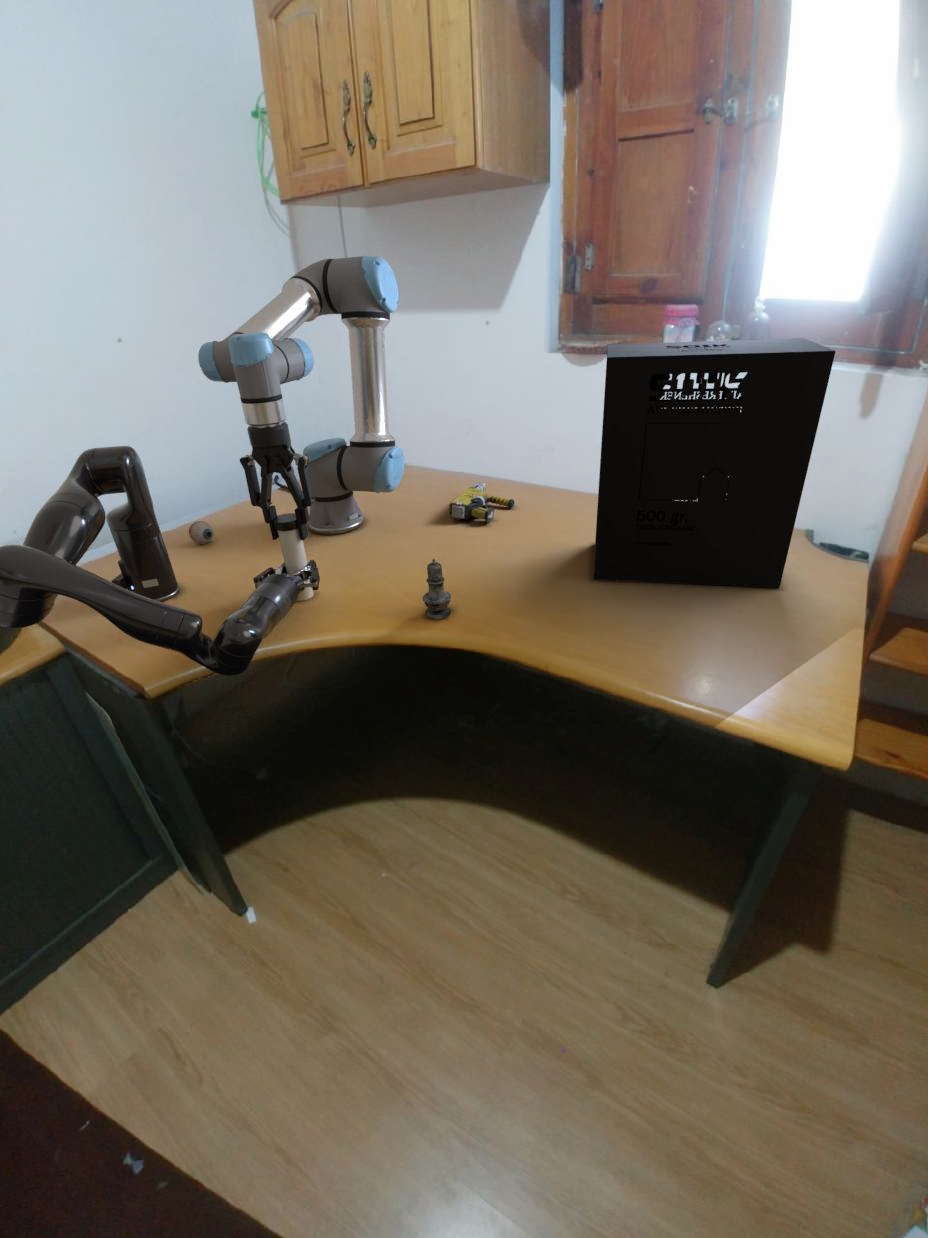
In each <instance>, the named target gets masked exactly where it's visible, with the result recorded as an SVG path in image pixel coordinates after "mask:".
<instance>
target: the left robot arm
mask: <svg viewBox="0 0 928 1238" xmlns="http://www.w3.org/2000/svg"><path fill="white" fill-rule="evenodd" d="M143 465H144V464H143V462H142V460H141V457H140V456H139V453H138V452H137V451H136V450H135V448H133V447H132V446H130V445H114V446H102V447H92V448H89V449H88V448H87V449H86V450H84V451H83V452H81V454H79V456H78V457H77V459H76V460H75V462H74V464H73V465H72V467H71V470H70V471H69V473H68V475H67V476H66V478H65V480H64V481H63V482H62V484H61V485H60V486H59V487H58V489H57V490H56V491H55V493H53V495H51V496H50V497H49V498H48V500H46V502H45V503H44V504H43V505H42V507H41V508H40V509H39V510H38V512H37V513H36V515H35V516H34V518H33V520H32V521H31V524H30V527H29V528H28V531H27V533H26V536H25V537H24V540H23V542H22V544H5V545H2V546H0V627H4V628H8V629H21V628H22V629H23V628H28V627H31V626H34V625H36V624H38V623H40V622H42V621H43V620H44V619H46V618H47V617H48V616H49V615H50V613H52V610H53V609H54V606H55V602H56V599H57V598H58V595H59V596H63V597H66V598H70V599H73V600H75V601H77V602H80V603H82V604H84V605H85V606H87V607H89V608H91V609H92V610H94V611H95V612H97V613H98V614H99V615H101V616H102V617H103V618H105V619H106V620H108V621H109V622H110V623H111V624H112V625H113V626H114V627H115V628H117V629H118V630H120V632H123V633H124V634H125V635H127V636H129V637H131V638H132V639H134V640H136V641H138V642H140V643H144V644H147V645H150V646H153V647H154V646H155V647H158V648H161V649H164V650H169V651H171V652H176V653H179V654H181V655H183V656H184V657H186V658H188V659H190V660H191V661H193V662H195V663H196V664H199V665H200V666H202V667H204V669H207V670H209V671H211V672H213V673H215V674H218V675H220V676H221V675H222V676H229V677H230V676H238V675H240V674H242V673H244V672H246V670H248V668H249V667H250V664H251V662H252V660H253V659H254V656H255V655H256V653H257V651H258V649H259V647H260V646H261V644H262V642H263V640H265V639H266V638H267V637H268V636H269V635H271V633H272V632H273V631H274V630H275V629H276V627H277V625H278V624H279V623H280V622H281V621H282V620H283V619H284V618H285V617H286V616H287V615H288V613H289V611H290V610H291V609H292V607H294V605H295V604H296V602H297V598H298V595H299V593H300V592H301V591H303V590H304V589H305V588H307V587H311V588H312V589H313V591H318V590H319V587H320V581H321V577H320V573H319V567H317V562H316V561H315V559H310V560H309V561H307V563H308V564H307V565H306V566H305V568H303V569H298V570H296V571H295V572H293V573H292V574H291V573H290V574H287V572H286V567H285V563H284V562H283V563H281V564H280V565H278V566H277V567H276V568H274V567H272V566H271V567H268V568H266V569H264V570H263V571H261V572H260V573H259V574H257V575H256V576H254V577H252V581H253V584H254V590H253V591H252V592H251V593H250V594H249V596H248V598H247V600H246V601H245V602H244V603H243V604H242V605H241V607H240V608H239V609H237V610H236V611H234V612H233V613H231V614H229V615H228V616H227V617H226V618H225V619H224V621H223V622H222V623H221V625H220V627H219V628H218V629H217V632H216V634H215V637H214V638H212V637H210V636H208V635H207V634H206V633H204V632H203V626H204V625H203V624H204V623H203V618H202V616H201V615H200V614H198V613H196V612H194V611H190V610H188V609H184V608H181V607H179V606H175V605H171V604H169V603H165V602H163V601H167V600H170V599H172V598H173V597H175V596H176V595H178V593H180V590H181V589H180V585H179V583H178V580H177V577H176V574H175V571H174V568H173V565H172V561H171V558H170V556H169V553H168V549H167V547H166V544H165V540H164V537H163V535H162V531H161V528H160V525H159V523H158V519H157V516H156V513H155V508H154V503H153V499H152V495H151V492H150V487H149V485H148V480H147V476H146V473H145V469H144V466H143ZM124 493H125V494H126V500H127V501H126V502H125V503H123V504H121V505H118V506H117V507H115V508H112V509H111V510H110V511H108V513H107V514H106V510H105V508H104V506H103V504H102V502H101V501H100V499H99V497H101V496H105V495H113V494H124ZM106 523H107V526H108V528H109V531H110V534H111V537H112V539H113V542H114V544H115V547H116V550H117V553H118V556H119V558H120V559H118V561H117V565H118V568H119V570H120V573H119V574H118V575H117V576H115V577H114V578H113V579H111V580H108V579H106V578H104V577H102V576H100V575H98V574H96V573H94V572H91V571H89V570H87V569H85V568H83V567H80V566H78V565H77V564H78V563H79V562H80V560H81V559H82V558H83V556H84V555H85V554H86V553H87V551H88V550H89V549H90V547H91V546H92V545H93V543H94V542H95V541H96V539H97V537H98V536H99V535H100V533H101V532H102V530H103V528H104V525H105V524H106ZM305 574H306V575H305Z"/></svg>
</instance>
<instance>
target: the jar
mask: <svg viewBox="0 0 928 1238" xmlns="http://www.w3.org/2000/svg"><path fill="white" fill-rule="evenodd" d="M277 531H278V530H277ZM278 536H279V538H278V539H279V544H280V549H281V553H282V556H283V557H282V558H283V563H285V567H286V572H287V574H290V573H291V574H292V573H293V572H295V571H296V570H298V569H303V568H305V566H306V565H307V564H308V558H307V553H306V548H305V543H304V540H300V535H299V530H298V528H297V529H294V530H290V531H278ZM305 575H306V574H305ZM314 594H315V592H314V590H313V589H312V588H311V587H307V588H305V589H304V590H303V591H301V592H300V593H299V595H298V598H297V600H296V602H301V601H308V600H310V599H311V598H313V596H314Z"/></svg>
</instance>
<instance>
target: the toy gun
mask: <svg viewBox="0 0 928 1238" xmlns="http://www.w3.org/2000/svg"><path fill="white" fill-rule="evenodd" d="M486 491H487V484H486V483H485V482H480V481H477V482H475V483H474V484H473V485H472V486H469V487H468V488H467V489H466V490H465V491H463V492H462V493H461V494H459V496H457V497H456V498H455V499H453V500H452V501H451V502H450V503H449V505H448V506H449V507H448V516H450V518H453V519H454V520H456V519H457V520H459V521H460V520H461V519H462V520H469V519H473V518H478V519H482V520H484V523H489V522H490V521H492V520H494V516H495V515H494V514H495V507H492V506H491V507H489V508H488V506H487V505H488V504H490V503H491V504H495V505H498V506H503V507H506V508H509V509H512V508H514V506H515V500H514V499H513V498H507V497H503V496H499V495H495V494H492V495H491V496H490V497H489V495H488V493H487V492H486Z"/></svg>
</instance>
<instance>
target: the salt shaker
mask: <svg viewBox="0 0 928 1238" xmlns="http://www.w3.org/2000/svg"><path fill="white" fill-rule="evenodd" d="M426 570H427V578H426V583H427V585H428V591H427V592H426V593H424V594H423V595H422V601H423V603H424V605H425V607H426V608H427V609H426V610H425V613H424V614H425V616H426V617H427V618H429V619H434V620H440V619H444V618H448V617H449V616H450V615H451V614H452V609H451V608H450V607H449V606H450V603H451V599H452V597H453V596H452V593H451V592H449V591H447V590H445V585H444V582H445V579H446V578H445V577H444V576H443V567H442V564H441V563H440V562H437V560H436V558H432V562H430V563H428V565H427V566H426Z"/></svg>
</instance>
